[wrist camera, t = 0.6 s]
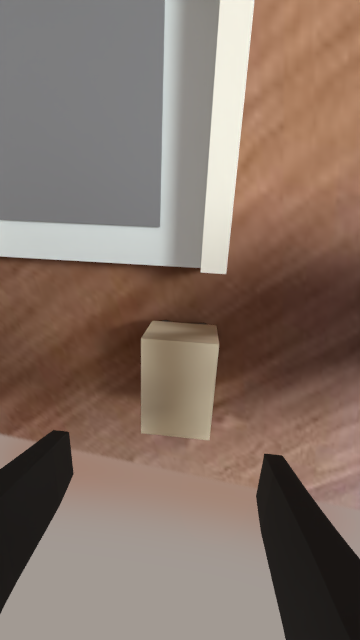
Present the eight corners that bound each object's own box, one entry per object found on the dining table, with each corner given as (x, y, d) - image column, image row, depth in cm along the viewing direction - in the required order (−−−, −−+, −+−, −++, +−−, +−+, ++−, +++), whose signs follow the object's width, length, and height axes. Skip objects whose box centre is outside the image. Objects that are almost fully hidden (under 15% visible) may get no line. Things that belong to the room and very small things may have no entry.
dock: (248, -22, 12) (269, -151, 8) (220, 265, 15) (226, 274, 12) (-74, -14, 13) (-192, -124, 9) (-22, 252, 17) (-89, 255, 13)
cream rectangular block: (215, 319, 17) (219, 344, 13) (208, 397, 18) (209, 440, 14) (155, 315, 17) (140, 338, 13) (154, 392, 19) (141, 433, 15)
